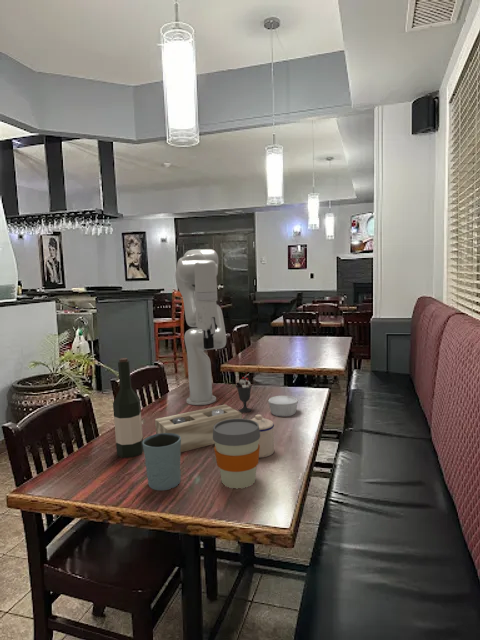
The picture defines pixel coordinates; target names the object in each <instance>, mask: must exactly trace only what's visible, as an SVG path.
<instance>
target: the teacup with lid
mask: <svg viewBox="0 0 480 640" xmlns="http://www.w3.org/2000/svg"><path fill="white" fill-rule="evenodd" d="M254 416H255V417H253V418H251V419H250V420H253V421H255V422H257V423H258V424H259V430H260V438H259V443H258V444H259V445H260V450H259V458H266V457H269V456H271V455H273V454H274V452H275V439H274V427H275V424H274V422H273V421H272V420H271V419H268V418H265V417H263V416H262V414H259V413H258V414H256V415H254Z"/></svg>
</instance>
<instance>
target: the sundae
mask: <svg viewBox="0 0 480 640" xmlns="http://www.w3.org/2000/svg"><path fill="white" fill-rule="evenodd" d="M252 387H253V384H251V381H249V378H248V373H245V375H244V376H242V377H241V378H240V379H239V380H238V381H237V382H236V385H235V388H236V389H237V393H238V398H239V400H240V401H241V402H242V404H243V407H242V408H240V409H238V412H240V413H242V414H243V413H250V412H251V411H252V409H251V408H249V407H248V406H247V402H248V401H249V400H250V398H251V391H252V390H251V389H252Z"/></svg>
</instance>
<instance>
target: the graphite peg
mask: <svg viewBox="0 0 480 640" xmlns="http://www.w3.org/2000/svg"><path fill="white" fill-rule="evenodd" d="M183 422H185V418H183V417H178V418H174V419H173V424H179V423H183Z"/></svg>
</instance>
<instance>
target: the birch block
mask: <svg viewBox="0 0 480 640" xmlns="http://www.w3.org/2000/svg"><path fill="white" fill-rule="evenodd" d="M215 409H222V410H224V414H220V415H215V416H212V411H213V410H215ZM178 417H183V418H185V422H183V423H179V424H173V419H174V418H178ZM228 419H243V412H240V411H239V410H237V409H235V408H233V407H231V406H229V405H227V404H222V405H216V406H211V407H207V408H203V409H202V408H201V409H196V410H193V411H188V412H184V413H183V412H182V413H178V414H174V415H173V414H172V415H169V416H168V415H167V416H164V417H158V418H155V419H154V422H155V423H154V424H155V425H154V426H155V434H160V433H173V434H177V435H179V436H180V437H181V448H180V452H181V453H183V452H188V451H191V450H195V449H199V448H203V447H208V446H211V445H215V442H214V440H213V427H214V425H215V424H216V423H218V422H221V421H224V420H228Z"/></svg>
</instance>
